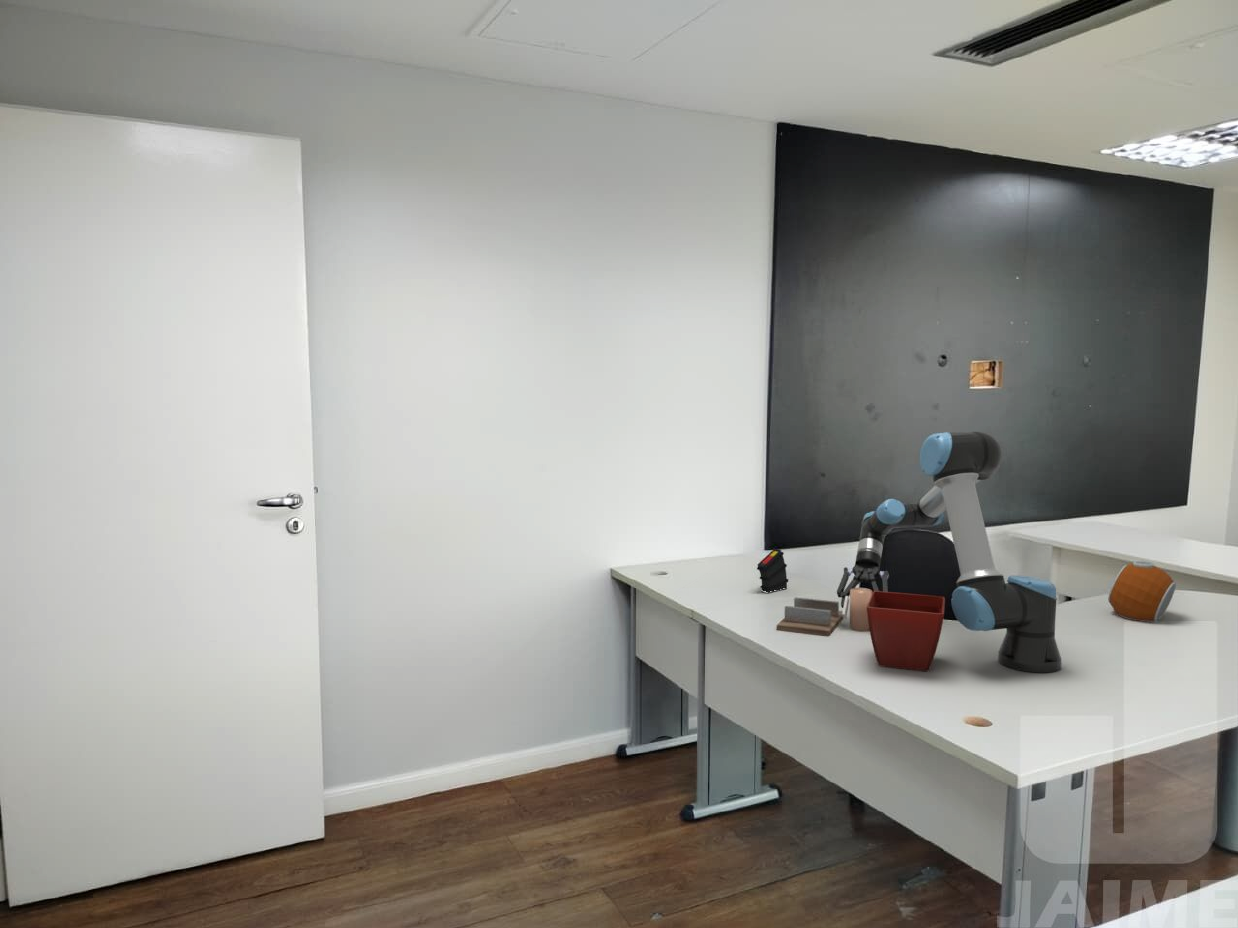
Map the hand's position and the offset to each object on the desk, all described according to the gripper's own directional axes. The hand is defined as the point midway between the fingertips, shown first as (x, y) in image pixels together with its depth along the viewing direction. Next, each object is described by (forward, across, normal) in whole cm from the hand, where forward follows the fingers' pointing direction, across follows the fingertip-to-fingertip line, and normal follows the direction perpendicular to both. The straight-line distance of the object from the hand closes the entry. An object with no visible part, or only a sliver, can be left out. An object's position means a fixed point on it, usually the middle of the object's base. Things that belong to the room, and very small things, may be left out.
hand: (858, 617), depth 257 cm
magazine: (-24, +38, -30) cm, 54 cm away
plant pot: (+20, -17, +14) cm, 29 cm away
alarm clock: (-34, -78, -40) cm, 94 cm away
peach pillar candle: (+1, 0, -5) cm, 5 cm away
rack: (+1, +15, -5) cm, 16 cm away
